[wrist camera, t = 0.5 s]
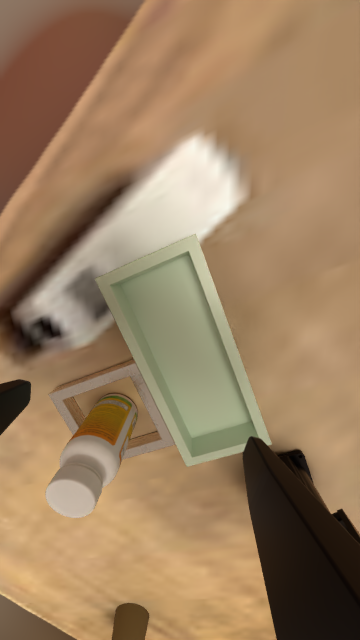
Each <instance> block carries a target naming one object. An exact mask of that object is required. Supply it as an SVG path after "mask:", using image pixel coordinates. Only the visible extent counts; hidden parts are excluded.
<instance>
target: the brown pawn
mask: <svg viewBox="0 0 360 640" xmlns="http://www.w3.org/2000/svg"><path fill="white" fill-rule="evenodd" d="M148 620H149V613H148V612H147V610H146V609H145V608H143V607H141V606H140V605H136V604H131V603H127V604H122V605H120V606H119V607H117V609H116V614H115V621H114V627H113V634H112V640H145V635H146V630H147V625H148Z"/></svg>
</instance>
